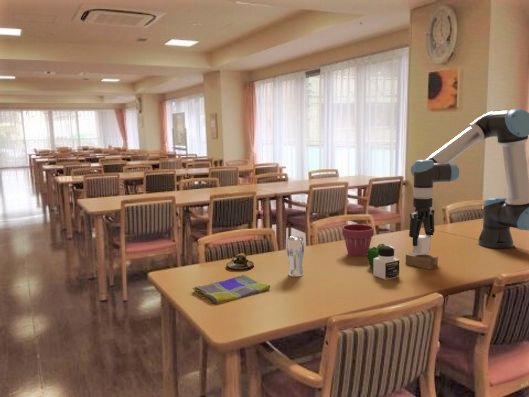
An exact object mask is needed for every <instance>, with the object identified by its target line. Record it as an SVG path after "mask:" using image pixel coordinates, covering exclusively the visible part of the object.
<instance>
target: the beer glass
mask: <svg viewBox="0 0 529 397" xmlns="http://www.w3.org/2000/svg"><path fill="white" fill-rule="evenodd" d="M286 255H287V259H288V264H289V265H288V266H289V267H288V268H289V269H288V276H290V277H293V278H294V277H295V278H297V277H299V278H300V277H303V276H304V269H303V268H304V267H303V262H304V257H305V242H304V237H302V236H288V237H287V238H286Z"/></svg>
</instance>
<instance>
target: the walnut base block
mask: <svg viewBox="0 0 529 397" xmlns="http://www.w3.org/2000/svg"><path fill="white" fill-rule="evenodd" d="M438 259H439V256H436V255H432V254H429V253H428V254H416V253H413V251H412V252H409V253H406V254H405V264H406V265H410V266H414V267H418V268H422V269H426V270H430V269H433V268H437V267H438V265H439V264H438V262H439V260H438Z"/></svg>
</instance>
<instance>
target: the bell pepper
mask: <svg viewBox="0 0 529 397" xmlns="http://www.w3.org/2000/svg"><path fill="white" fill-rule="evenodd" d="M384 245H385V244H384V243H379V244H378V245H377V246H372V247H369V249H368V255H367V260H368V264H369V266H370V267H372V268H373V259H374V258H377V257H378V248H379V247H380V246H384Z"/></svg>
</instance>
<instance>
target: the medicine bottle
mask: <svg viewBox="0 0 529 397" xmlns="http://www.w3.org/2000/svg"><path fill="white" fill-rule="evenodd" d="M372 268H373V271H372V272H373V276H374V277H377V278H380V279H382V280H385V281H387V280H391V279H395V278H400V259H399V258H396V257H395V247H394V246H392V245H385V244H384V246H380V247H379V248H378V257H377V258H374V259H373V267H372Z"/></svg>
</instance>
